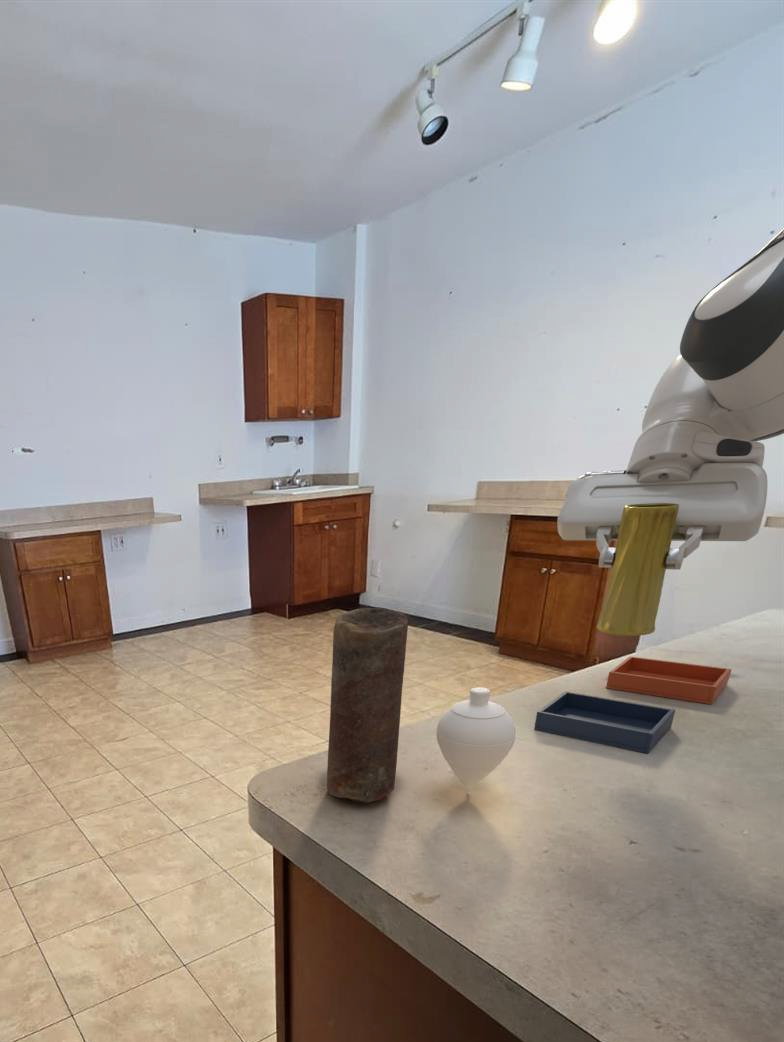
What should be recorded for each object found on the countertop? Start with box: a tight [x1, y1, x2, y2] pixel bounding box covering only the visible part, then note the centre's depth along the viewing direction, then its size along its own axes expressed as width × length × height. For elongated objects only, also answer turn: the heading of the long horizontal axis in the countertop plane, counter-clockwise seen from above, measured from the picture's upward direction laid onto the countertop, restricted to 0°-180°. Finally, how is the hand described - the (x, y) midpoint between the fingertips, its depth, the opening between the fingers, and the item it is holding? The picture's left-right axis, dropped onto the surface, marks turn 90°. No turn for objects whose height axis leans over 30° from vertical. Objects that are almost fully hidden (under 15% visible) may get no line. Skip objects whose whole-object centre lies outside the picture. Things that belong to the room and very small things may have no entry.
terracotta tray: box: [605, 656, 732, 705], centre depth 94 cm, size 13×10×2 cm
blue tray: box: [534, 691, 676, 754], centre depth 82 cm, size 13×10×2 cm
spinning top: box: [435, 686, 517, 795], centre depth 67 cm, size 8×8×12 cm
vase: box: [596, 503, 679, 637], centre depth 75 cm, size 6×6×14 cm
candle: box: [326, 607, 409, 804], centre depth 67 cm, size 8×7×20 cm
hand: (638, 565), depth 74 cm, fingers closed on vase, 5 cm apart
